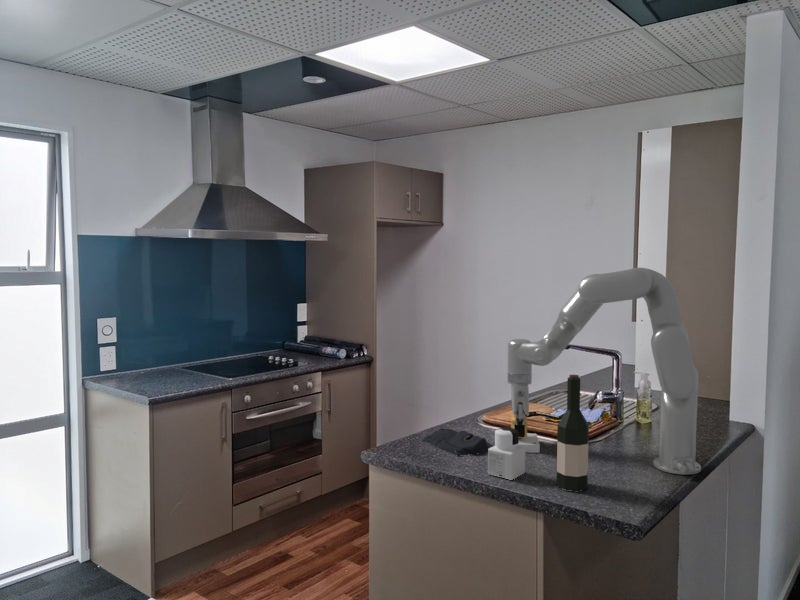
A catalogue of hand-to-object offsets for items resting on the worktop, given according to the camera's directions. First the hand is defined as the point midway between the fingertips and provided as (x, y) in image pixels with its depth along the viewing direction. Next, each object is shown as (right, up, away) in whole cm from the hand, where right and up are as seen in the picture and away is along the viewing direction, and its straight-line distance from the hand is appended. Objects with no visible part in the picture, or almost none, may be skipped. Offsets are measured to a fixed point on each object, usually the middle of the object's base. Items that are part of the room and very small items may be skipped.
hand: (519, 433), depth 200 cm
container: (-8, -7, -25) cm, 27 cm away
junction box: (0, -4, +4) cm, 5 cm away
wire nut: (0, -1, 0) cm, 1 cm away
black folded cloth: (-20, -5, +2) cm, 20 cm away
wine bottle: (+8, -7, -34) cm, 35 cm away
